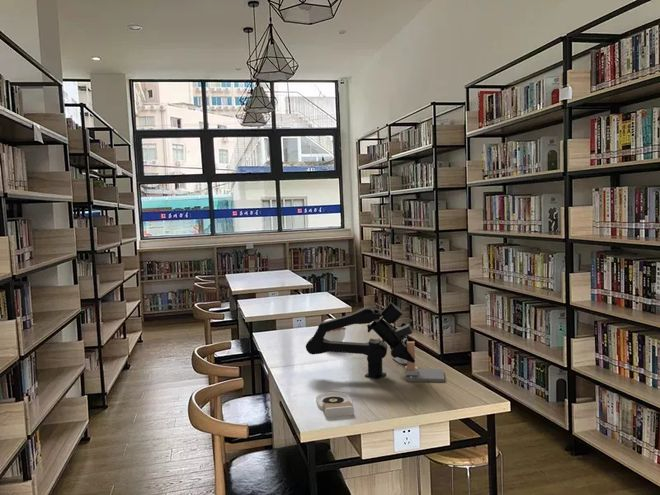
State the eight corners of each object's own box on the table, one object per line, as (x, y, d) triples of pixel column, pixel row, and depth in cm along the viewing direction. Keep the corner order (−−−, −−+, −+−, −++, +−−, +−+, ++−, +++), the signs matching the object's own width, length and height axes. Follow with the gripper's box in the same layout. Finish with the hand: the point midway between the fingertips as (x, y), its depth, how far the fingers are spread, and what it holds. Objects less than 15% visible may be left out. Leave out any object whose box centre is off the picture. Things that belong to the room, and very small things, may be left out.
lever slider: (404, 375, 206) (403, 344, 205) (404, 369, 213) (404, 340, 212) (417, 375, 205) (417, 344, 204) (417, 369, 212) (417, 340, 211)
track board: (405, 381, 204) (405, 377, 203) (406, 371, 215) (406, 368, 215) (444, 381, 201) (444, 378, 201) (442, 372, 213) (442, 369, 213)
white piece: (341, 346, 272) (335, 319, 275) (353, 341, 248) (346, 312, 251) (314, 352, 268) (308, 325, 271) (324, 347, 244) (317, 318, 248)
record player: (321, 409, 170) (314, 389, 190) (321, 418, 171) (314, 397, 190) (357, 406, 172) (346, 386, 192) (357, 415, 172) (346, 395, 192)
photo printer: (409, 363, 226) (408, 334, 226) (400, 364, 225) (399, 335, 224) (399, 357, 236) (398, 329, 235) (390, 358, 235) (389, 330, 234)
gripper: (399, 322, 199) (429, 352, 198) (400, 313, 217) (428, 339, 216) (378, 343, 201) (408, 372, 200) (381, 331, 219) (409, 358, 218)
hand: (414, 359), depth 208 cm, fingers open, 5 cm apart
